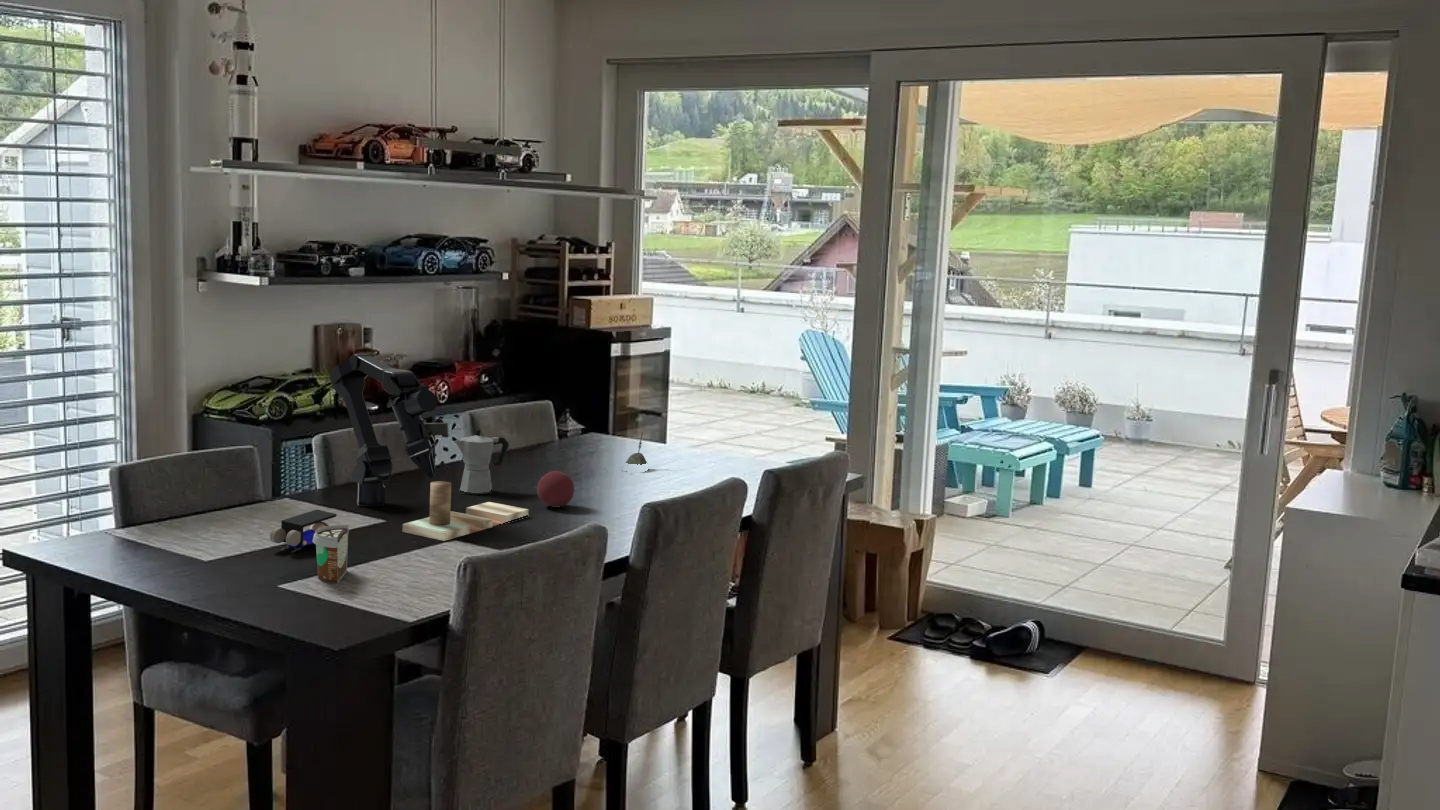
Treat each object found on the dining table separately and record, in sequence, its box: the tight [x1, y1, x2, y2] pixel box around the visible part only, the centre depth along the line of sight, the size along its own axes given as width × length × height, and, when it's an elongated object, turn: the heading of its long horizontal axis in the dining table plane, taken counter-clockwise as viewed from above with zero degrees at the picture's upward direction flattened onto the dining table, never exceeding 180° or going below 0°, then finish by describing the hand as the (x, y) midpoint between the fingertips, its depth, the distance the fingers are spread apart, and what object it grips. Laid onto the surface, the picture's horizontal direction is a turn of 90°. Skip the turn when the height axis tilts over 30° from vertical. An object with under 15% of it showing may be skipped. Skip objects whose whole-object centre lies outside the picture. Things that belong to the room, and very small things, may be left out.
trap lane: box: [402, 501, 529, 542], centre depth 323 cm, size 33×13×2 cm, turn 152°
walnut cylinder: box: [428, 480, 452, 526], centre depth 313 cm, size 5×5×10 cm
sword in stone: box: [625, 431, 648, 465], centre depth 405 cm, size 10×8×12 cm
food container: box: [312, 524, 350, 584], centre depth 271 cm, size 12×6×10 cm, turn 5°
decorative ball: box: [536, 470, 575, 507], centre depth 347 cm, size 10×10×10 cm
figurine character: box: [269, 508, 338, 554], centre depth 293 cm, size 7×8×15 cm
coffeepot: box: [453, 428, 510, 493], centre depth 360 cm, size 15×9×18 cm, turn 113°
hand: (432, 475), depth 326 cm, fingers open, 9 cm apart
